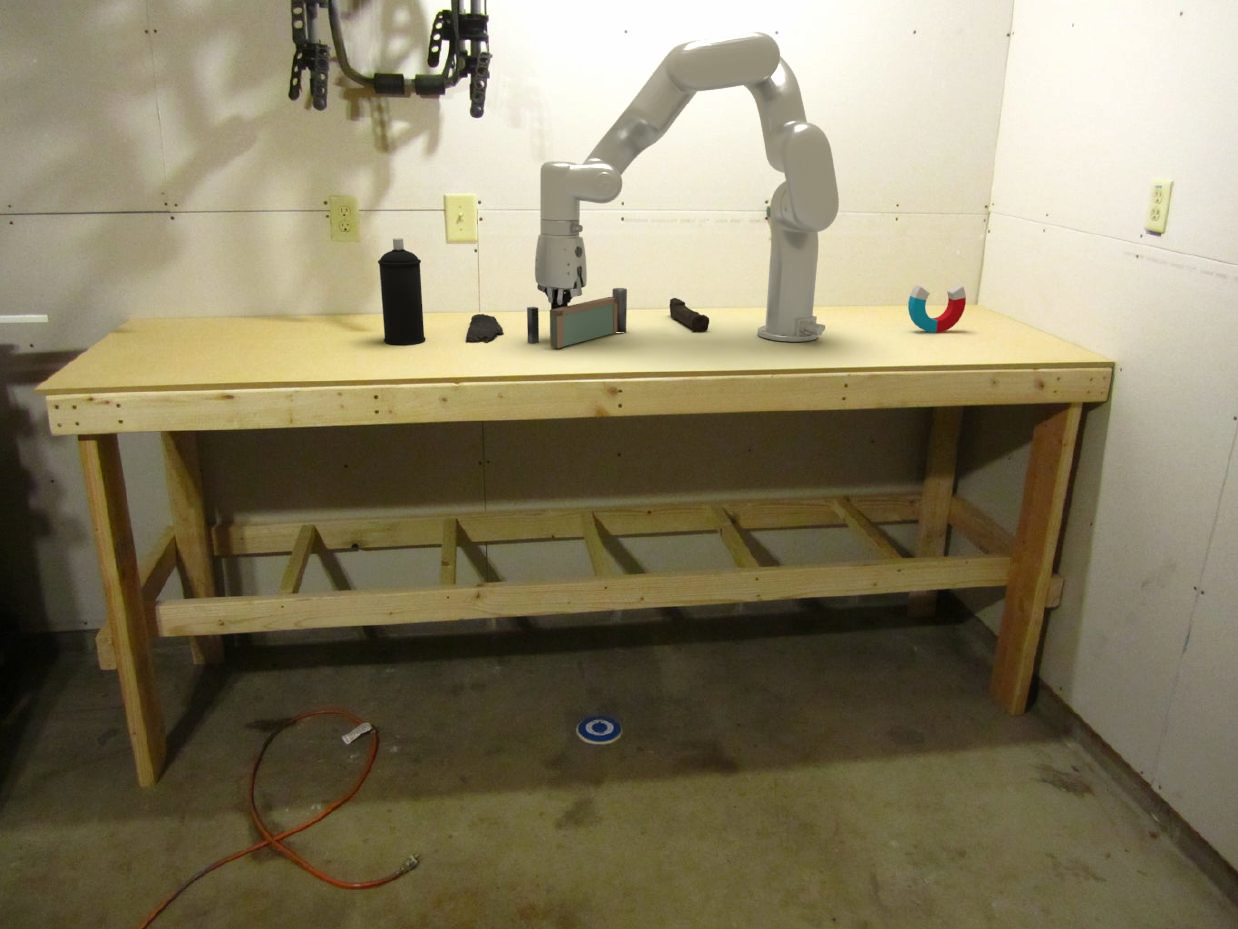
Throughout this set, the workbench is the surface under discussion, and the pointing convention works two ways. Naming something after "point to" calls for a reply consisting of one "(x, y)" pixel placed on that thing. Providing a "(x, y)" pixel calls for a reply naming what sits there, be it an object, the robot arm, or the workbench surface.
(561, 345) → the gate
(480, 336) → the wood
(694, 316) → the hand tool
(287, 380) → the workbench surface
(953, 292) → the magnet
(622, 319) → the gate posts
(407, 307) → the aerosol can
